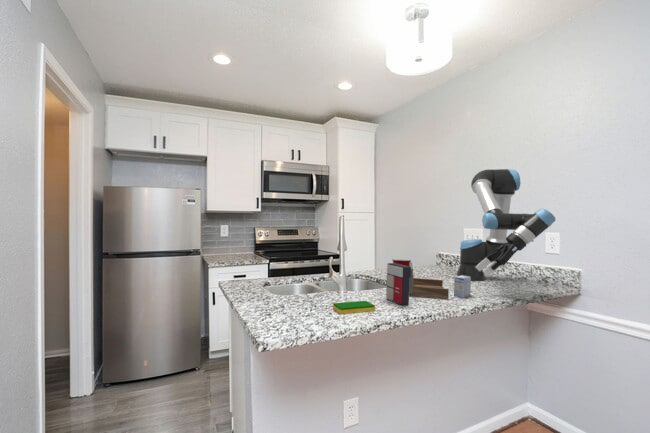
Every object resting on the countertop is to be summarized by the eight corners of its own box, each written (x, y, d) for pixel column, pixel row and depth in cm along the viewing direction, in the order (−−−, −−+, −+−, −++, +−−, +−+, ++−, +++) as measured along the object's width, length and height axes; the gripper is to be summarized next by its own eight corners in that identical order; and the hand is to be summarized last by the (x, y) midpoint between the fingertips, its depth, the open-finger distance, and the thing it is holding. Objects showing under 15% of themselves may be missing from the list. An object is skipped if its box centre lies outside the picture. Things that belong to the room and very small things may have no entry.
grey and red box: (384, 298, 128) (385, 263, 128) (393, 298, 129) (394, 262, 130) (401, 305, 118) (402, 267, 118) (410, 304, 119) (411, 266, 120)
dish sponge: (332, 309, 112) (332, 303, 112) (365, 306, 117) (365, 300, 117) (340, 315, 105) (340, 308, 105) (375, 312, 110) (375, 305, 110)
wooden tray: (408, 285, 155) (409, 262, 155) (442, 288, 151) (442, 264, 151) (409, 295, 134) (410, 268, 134) (448, 299, 130) (448, 271, 130)
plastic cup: (409, 278, 176) (409, 257, 176) (412, 282, 165) (413, 260, 165) (390, 277, 177) (390, 257, 177) (392, 281, 166) (393, 259, 166)
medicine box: (460, 293, 141) (461, 275, 141) (470, 295, 138) (471, 276, 138) (453, 296, 136) (454, 276, 136) (463, 298, 132) (464, 278, 132)
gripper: (539, 247, 118) (496, 283, 121) (516, 243, 142) (480, 273, 145) (524, 232, 119) (481, 269, 123) (503, 231, 143) (468, 261, 147)
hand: (481, 271), depth 134 cm, fingers open, 13 cm apart
